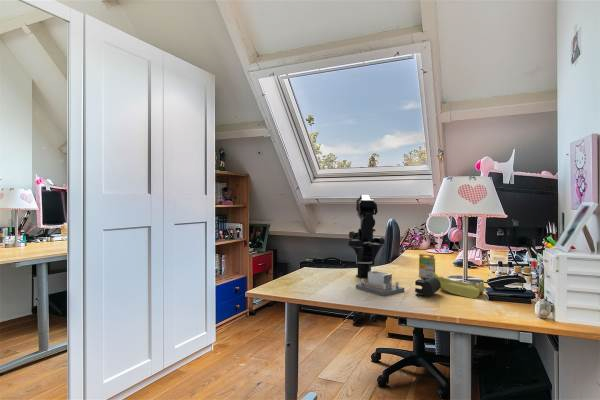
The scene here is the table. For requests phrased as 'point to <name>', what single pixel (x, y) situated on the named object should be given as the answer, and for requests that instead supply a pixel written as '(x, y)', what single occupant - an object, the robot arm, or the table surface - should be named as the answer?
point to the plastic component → (460, 287)
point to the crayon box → (426, 266)
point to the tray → (380, 291)
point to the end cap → (427, 286)
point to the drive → (379, 279)
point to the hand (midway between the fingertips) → (366, 260)
